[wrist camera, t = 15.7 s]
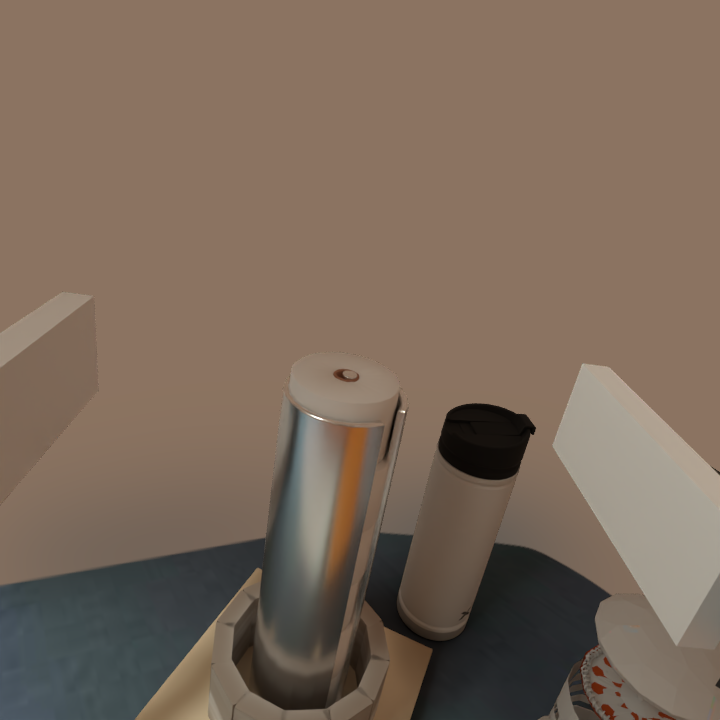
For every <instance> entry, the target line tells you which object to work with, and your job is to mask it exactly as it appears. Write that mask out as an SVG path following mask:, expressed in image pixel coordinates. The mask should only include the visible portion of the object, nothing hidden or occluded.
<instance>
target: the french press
mask: <svg viewBox="0 0 720 720" xmlns="http://www.w3.org/2000/svg"><path fill="white" fill-rule="evenodd" d="M595 623H596V629H597V636H598V642H599V645H597V646H596V647H594V648H592V649H591V650H589V651H587V652H586V653H585V656H584V658H583V659H581V660H580V661H578V662H577V663H576V664H574V666H573V668H572V670H571V672H570V674H569V676H568V677H567V679H566V681H565V683H564V685H563V687H562V690H561V692H560V694H559V696H558V698H557V700H556V702H555V705H554V707H553V708H552V710H551V712H550V714H549V716H543V717H541V718H540V719H538V720H720V689H719V688H718V687H716V686H715V685H716V683H717V682H718V680H719V678H720V641H719V643H718V644H717V646H716V648H715V649H714V650H713V649H702V648H690V647H679V646H676V645H675V643H674V642H673V640H672V638H671V637H670V635H669V633H668V632H667V630H666V629H665V627H664V625H663V624H662V622H661V621H660V619H659V617H658V616H657V614H656V612H655V611H654V609H653V608H652V606H651V604H650V603H649V601H648V600H647V598H646V596H644V595H641V594H615V595H613V596H611V597H609V598H607V599H606V600H604V601H602V602H601V603H600V605H599V608H598V611H597V613H596V616H595ZM579 669H580V673H579V674H577V675H576V676H575V677H574V678H573V679H572V680H571V681H570V682H568V681H569V680H570V679H571V678H572V677H573V675H574V674H575V673H576V672H577V671H578V670H579ZM577 680H582V684H578V685H573V686H571V687H570V688H569V686H570V684H571V683H572V682H573V681H577ZM582 689H583V691H584V693H585V695H583V694H580V695H574V696H570V692H574V691H578V690H582ZM578 700H579V701H582V702H585V703H588V704H590V705H591V706H592V708H593V710H594V712H595V713H594V712H593V711H592V710H589V709H586V708H583V707H580V706H577V705H574V706H573V705H572V702H574V701H578ZM556 706H557V707H556ZM555 707H556V708H555ZM554 708H555V709H554ZM557 709H558V712H557V713H556V714H555V713H554V712H555V711H556V710H557Z"/></svg>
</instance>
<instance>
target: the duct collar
mask: <svg viewBox="0 0 720 720" xmlns="http://www.w3.org/2000/svg"><path fill="white" fill-rule="evenodd" d="M261 576H262V570H261V569H259V568H257V569H256V570H255V571H254V573H253V574H252V575H251V576H250V578H249V579H248V580H247V581H246V583H245V584H244V585H243V586H242V587H241V589H240V590H239V591H238V592H237V594H236V595H235V596H234V597H233V599H232V600H231V601H230V602H229V604H228V605H227V606H226V607H225V609H224V610H223V611H222V612H221V613H220V615H219V616H218V617H217V618H216V620H215V621H214V622H213V623H212V625H211V626H210V627H209V628H208V630H207V631H206V632H205V633H204V634H203V636H202V637H201V638H200V639H199V641H198V642H197V643H196V644H195V646H194V647H193V648H192V649H191V651H190V652H189V653H188V654H187V656H186V657H185V658H184V659H183V660H182V662H181V663H180V664H179V665H178V667H177V668H176V669H175V670H174V672H173V673H172V674H171V675H170V677H169V678H168V679H167V680H166V682H165V683H164V684H163V685H162V686H161V688H160V689H159V690H158V691H157V693H156V694H155V695H154V696H153V698H152V699H151V700H150V701H149V703H148V704H147V705H146V706H145V707H144V709H143V710H142V711H141V712H140V714H139V715H138V716H137V717H136V719H135V720H410V719H411V715H412V712H413V709H414V706H415V703H416V700H417V697H418V694H419V691H420V688H421V685H422V681H423V678H424V675H425V672H426V669H427V666H428V663H429V660H430V657H431V653H432V650H433V649H431V648H429V647H426V646H424V645H422V644H420V643H418V642H416V641H414V640H411V639H409V638H407V637H405V636H403V635H401V634H398V633H396V632H394V631H392V630H390V629H388V628H386V627H384V626H383V622H381V621H382V620H381V618H380V617H379V616H378V615H377V614H376V613H375V611H374V610H373V609H372V608H371V607H370V606H369V604H368V603H367V602H366V601H365V600H364V604H363V608H362V613H361V617H360V621H359V626H358V630H357V634H356V639H355V643H354V648H353V652H352V656H351V661H350V665H349V669H348V674H347V678H346V682H345V687H344V691H343V696H342V699H341V700H339V701H337V702H336V703H334V704H333V705H331V706H330V707H328V708H327V709H313V710H283V709H281V708H279V707H278V706H276V705H274V704H272V703H270V702H268V701H267V700H265V699H263V698H261V697H259V696H257V695H255V694H254V693H252V692H250V691H249V680H250V672H251V663H252V654H253V646H254V637H255V628H256V620H257V611H258V602H259V594H260V585H261Z"/></svg>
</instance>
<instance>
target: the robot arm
mask: <svg viewBox="0 0 720 720" xmlns="http://www.w3.org/2000/svg"><path fill="white" fill-rule="evenodd" d="M97 391H98V369H97V349H96V328H95V305H94V296H91V295H83V294H76V293H69V292H62V293H60V294H59V295H57V296H56V297H54V298H53V299H51V300H50V301H48V302H47V303H45V304H44V305H42V306H41V307H39V308H38V309H36V310H35V311H33V312H32V313H30V314H28V315H27V316H25V317H24V318H22V319H21V320H20V321H18V322H17V323H15V324H13V325H12V326H10V327H9V328H7V329H6V330H4V331H3V332H1V333H0V505H1V504H2V503H3V501H4V500H5V499H6V498H7V497H8V496H9V494H10V493H11V492H12V491H13V490H14V488H15V487H16V486H17V485H18V484H19V483H20V481H21V480H22V479H23V478H24V477H25V476H26V474H27V473H28V472H29V471H30V470H31V469H32V468H33V466H34V465H35V464H36V463H37V462H38V461H39V459H40V458H41V457H42V456H43V455H44V454H45V452H46V451H47V450H48V449H49V448H50V447H51V445H52V444H53V443H54V441H56V440H57V438H58V437H59V436H60V435H61V434H62V433H63V431H64V430H65V429H66V428H67V427H68V425H69V424H70V423H71V422H72V421H73V420H74V418H75V417H76V416H77V415H78V414H79V413H80V411H81V410H82V409H83V408H84V407H85V406H86V404H87V403H88V402H89V401H90V400H91V399H92V397H93V396H94V395H95V394H96V393H97ZM552 446H553V448H554V449H555V451H556V453H557V454H558V456H559V457H560V459H561V461H562V462H563V464H564V466H565V467H566V469H567V470H568V472H569V474H570V475H571V477H572V478H573V480H574V482H575V483H576V485H577V487H578V488H579V490H580V491H581V493H582V495H583V496H584V498H585V500H586V501H587V503H588V504H589V506H590V508H591V509H592V511H593V512H594V514H595V516H596V517H597V519H598V521H599V522H600V524H601V525H602V527H603V529H604V530H605V532H606V533H607V535H608V537H609V538H610V540H611V542H612V543H613V545H614V546H615V548H616V550H617V551H618V553H619V554H620V556H621V557H622V559H623V561H624V562H625V564H626V566H627V567H628V569H629V570H630V572H631V574H632V575H633V577H634V578H635V580H636V582H637V583H638V585H639V587H640V588H641V590H642V591H643V593H644V595H645V596H646V598H647V600H648V601H649V603H650V604H651V606H652V608H653V609H654V611H655V612H656V614H657V616H658V617H659V619H660V621H661V622H662V624H663V625H664V627H665V629H666V630H667V632H668V633H669V635H670V637H671V638H672V640H673V642H674V643H675V645H676V646H679V647H690V648H702V649H713V650H714V649H715V648H716V646H717V644H718V643H719V641H720V472H719V471H717V470H716V469H714V468H713V467H711V466H709V465H708V464H707V463H706V462H705V461H704V460H703V459H702V458H701V457H700V456H699V455H698V454H697V453H696V452H695V451H694V450H693V449H692V448H691V447H690V446H689V445H688V444H687V443H686V442H685V441H684V440H683V439H682V438H681V437H680V436H679V435H677V433H676V432H675V431H674V430H673V429H672V428H671V427H670V426H668V424H667V423H665V422H664V421H663V420H662V419H661V418H660V417H659V416H658V415H657V414H656V413H655V412H654V411H653V410H652V409H651V408H650V407H649V406H648V405H647V404H646V403H645V402H644V401H643V400H642V399H641V398H640V397H639V396H638V395H637V394H636V393H635V392H634V391H633V390H632V389H631V388H630V387H629V386H628V385H627V384H625V382H623V381H622V380H621V379H620V378H619V377H618V376H617V375H616V374H615V373H614V372H613V371H612V370H611V369H610V368H609V367H604V366H597V365H590V364H582V367H581V369H580V372H579V375H578V378H577V380H576V383H575V386H574V388H573V391H572V394H571V397H570V399H569V402H568V405H567V407H566V410H565V413H564V416H563V418H562V421H561V424H560V426H559V429H558V432H557V434H556V437H555V440H554V443H553V445H552ZM715 686H716V687H718V688H719V689H720V678H719V680H718V682H717V683H716V685H715Z"/></svg>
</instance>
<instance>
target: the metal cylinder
mask: <svg viewBox="0 0 720 720" xmlns="http://www.w3.org/2000/svg"><path fill="white" fill-rule="evenodd" d="M407 411H408V398H407V396H406V395H405V393H404V391H403V390H402V389H401V388H400V382H399V380H398V377H397V375H396V374H395V373H394V372H392V371H391V370H390V369H388V368H387V367H385V366H384V365H382V364H381V363H379V362H377V361H374V360H372V359H369V358H366V357H363V356H359V355H355V354H349V353H341V352H323V353H315V354H310V355H307V356H305V357H303V358H301V359H299V360H298V361H296V362H295V363H294V364H293V367H292V370H291V375H290V376H289V377H288V378H287V379H286V381H285V384H284V387H283V395H282V403H281V412H280V420H279V429H278V438H277V446H276V455H275V463H274V472H273V481H272V490H271V498H270V507H269V516H268V524H267V533H266V541H265V550H264V559H263V568H262V576H261V585H260V594H259V602H258V611H257V620H256V628H255V637H254V646H253V654H252V663H251V672H250V680H249V691H250V692H252V693H254V694H255V695H257V696H259V697H261V698H263V699H265V700H267V701H268V702H270V703H272V704H274V705H276V706H278V707H279V708H281V709H283V710H313V709H327V708H328V707H330V706H331V705H333V704H334V703H336V702H337V701H339V700H341V699H342V696H343V691H344V687H345V682H346V678H347V674H348V669H349V665H350V661H351V656H352V652H353V648H354V643H355V639H356V634H357V630H358V626H359V621H360V617H361V613H362V608H363V604H364V599H365V595H366V591H367V586H368V582H369V578H370V573H371V569H372V564H373V560H374V556H375V551H376V547H377V543H378V538H379V534H380V530H381V525H382V521H383V516H384V512H385V507H386V503H387V499H388V495H389V490H390V486H391V481H392V477H393V473H394V468H395V464H396V459H397V455H398V451H399V446H400V442H401V437H402V433H403V429H404V425H405V420H406V416H407Z"/></svg>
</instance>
